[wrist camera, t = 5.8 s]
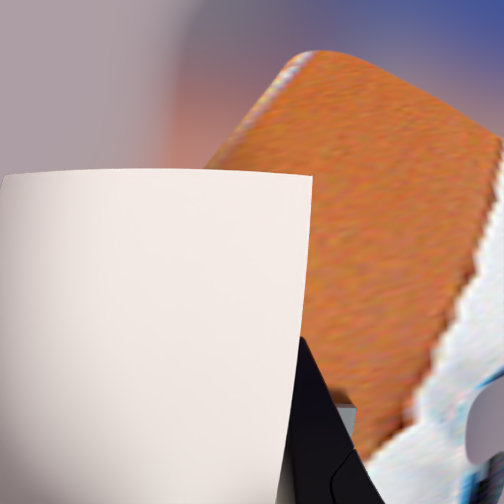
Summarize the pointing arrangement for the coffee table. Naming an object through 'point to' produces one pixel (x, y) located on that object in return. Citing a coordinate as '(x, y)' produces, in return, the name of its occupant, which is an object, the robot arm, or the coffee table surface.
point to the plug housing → (148, 333)
